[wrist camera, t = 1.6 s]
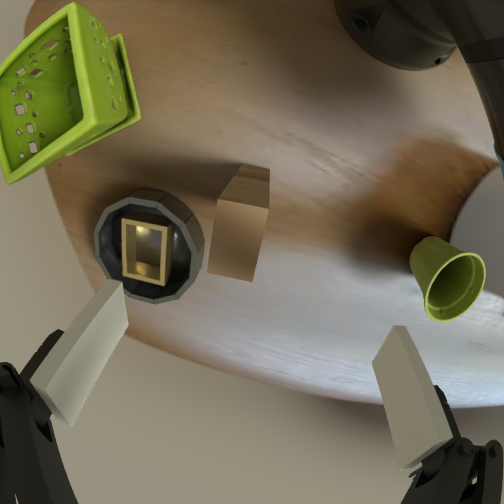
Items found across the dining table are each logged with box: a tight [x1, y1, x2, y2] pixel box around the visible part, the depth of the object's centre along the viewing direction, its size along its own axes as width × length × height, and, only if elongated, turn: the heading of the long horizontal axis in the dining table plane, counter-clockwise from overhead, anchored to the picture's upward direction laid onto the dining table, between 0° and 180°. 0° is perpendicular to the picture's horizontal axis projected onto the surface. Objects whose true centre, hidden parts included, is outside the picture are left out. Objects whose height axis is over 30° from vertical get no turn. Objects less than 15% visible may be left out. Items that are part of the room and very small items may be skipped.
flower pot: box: [0, 2, 142, 184], centre depth 20 cm, size 14×14×13 cm
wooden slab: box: [207, 164, 270, 282], centre depth 24 cm, size 5×3×15 cm, turn 169°
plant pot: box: [409, 236, 486, 323], centre depth 29 cm, size 9×9×9 cm
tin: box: [94, 189, 205, 304], centre depth 32 cm, size 14×14×4 cm
